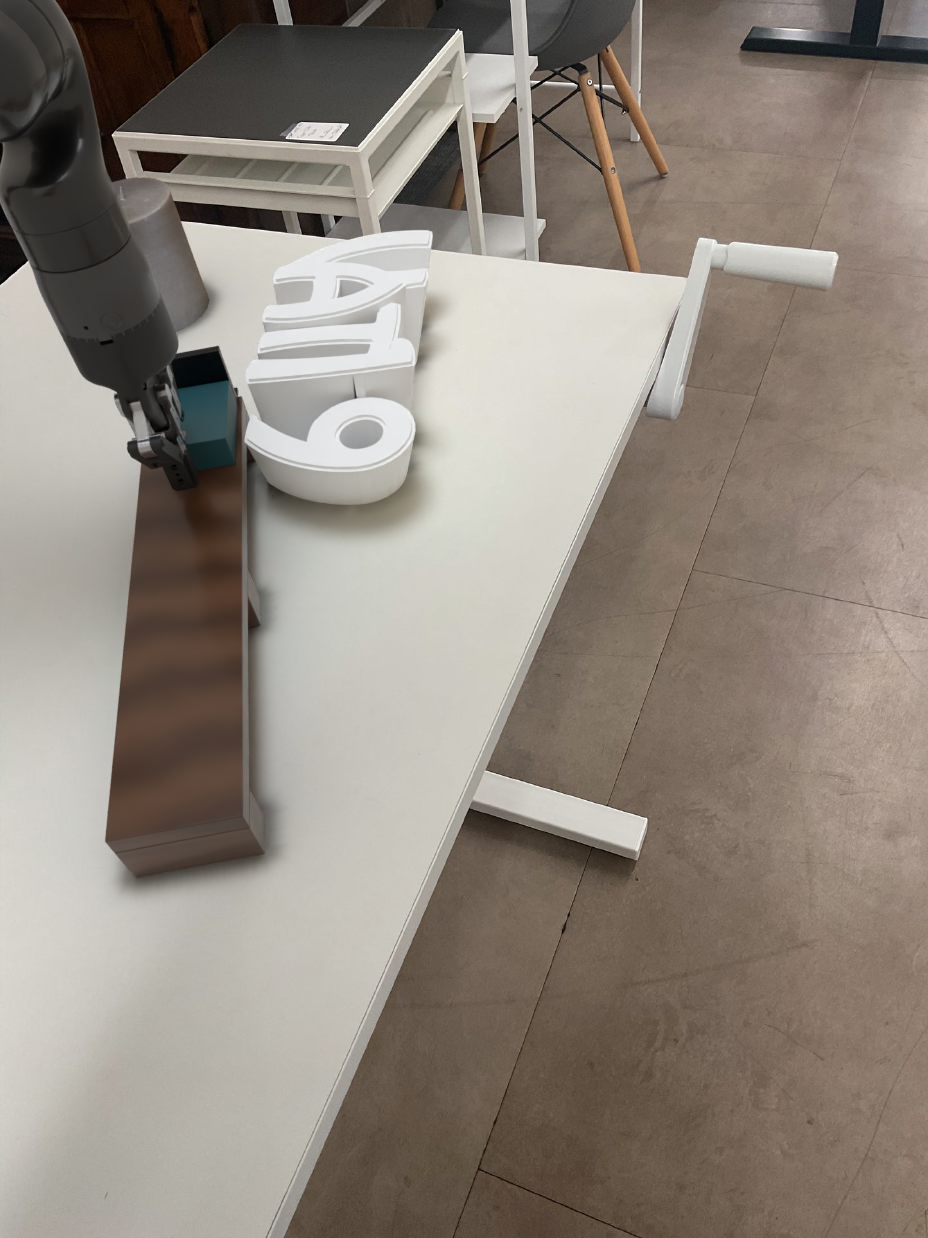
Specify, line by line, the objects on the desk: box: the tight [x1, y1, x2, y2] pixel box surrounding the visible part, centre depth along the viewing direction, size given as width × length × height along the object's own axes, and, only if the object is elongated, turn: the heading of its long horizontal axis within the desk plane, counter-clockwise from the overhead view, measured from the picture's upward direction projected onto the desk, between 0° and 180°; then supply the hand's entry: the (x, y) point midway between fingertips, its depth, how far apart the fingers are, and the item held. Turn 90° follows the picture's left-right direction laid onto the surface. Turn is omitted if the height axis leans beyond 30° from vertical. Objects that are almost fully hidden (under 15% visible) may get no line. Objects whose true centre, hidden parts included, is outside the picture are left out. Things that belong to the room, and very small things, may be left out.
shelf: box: [104, 395, 266, 879], centre depth 81 cm, size 44×9×6 cm, turn 8°
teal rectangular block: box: [177, 380, 238, 471], centre depth 88 cm, size 8×6×3 cm
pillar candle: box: [111, 176, 210, 332], centre depth 108 cm, size 10×10×15 cm
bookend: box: [171, 345, 239, 404], centre depth 90 cm, size 2×8×6 cm, turn 98°
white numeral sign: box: [245, 229, 434, 506], centre depth 95 cm, size 35×16×11 cm, turn 175°
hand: (187, 483), depth 84 cm, fingers closed
